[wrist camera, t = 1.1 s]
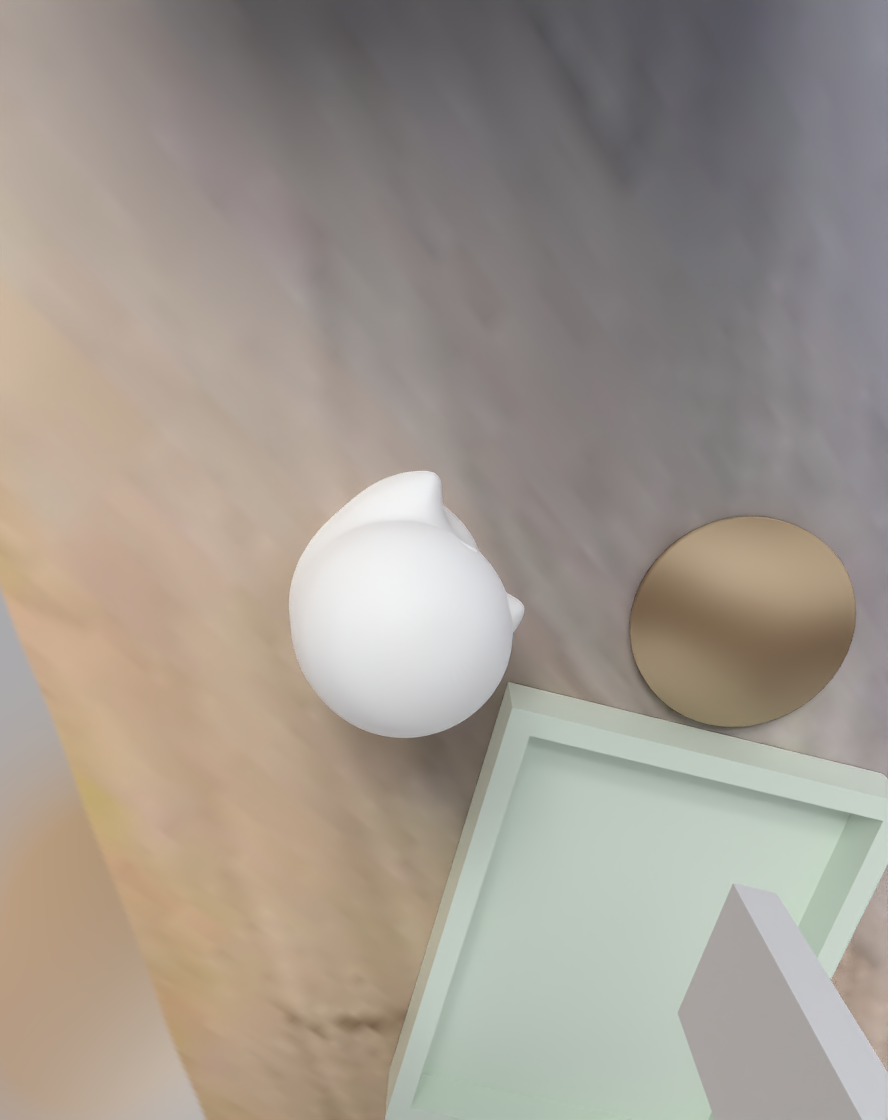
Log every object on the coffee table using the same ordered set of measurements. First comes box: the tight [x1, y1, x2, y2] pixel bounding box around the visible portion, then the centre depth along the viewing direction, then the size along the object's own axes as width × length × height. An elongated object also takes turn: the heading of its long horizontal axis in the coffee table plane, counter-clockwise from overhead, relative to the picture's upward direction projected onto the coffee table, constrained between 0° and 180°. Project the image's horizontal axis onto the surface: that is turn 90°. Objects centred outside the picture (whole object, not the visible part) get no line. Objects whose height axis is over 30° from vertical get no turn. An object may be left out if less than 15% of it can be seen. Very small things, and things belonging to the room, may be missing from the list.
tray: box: [385, 682, 888, 1120], centre depth 32 cm, size 22×17×2 cm
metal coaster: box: [630, 516, 856, 727], centre depth 29 cm, size 9×9×1 cm
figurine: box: [289, 471, 524, 738], centre depth 23 cm, size 7×8×12 cm
